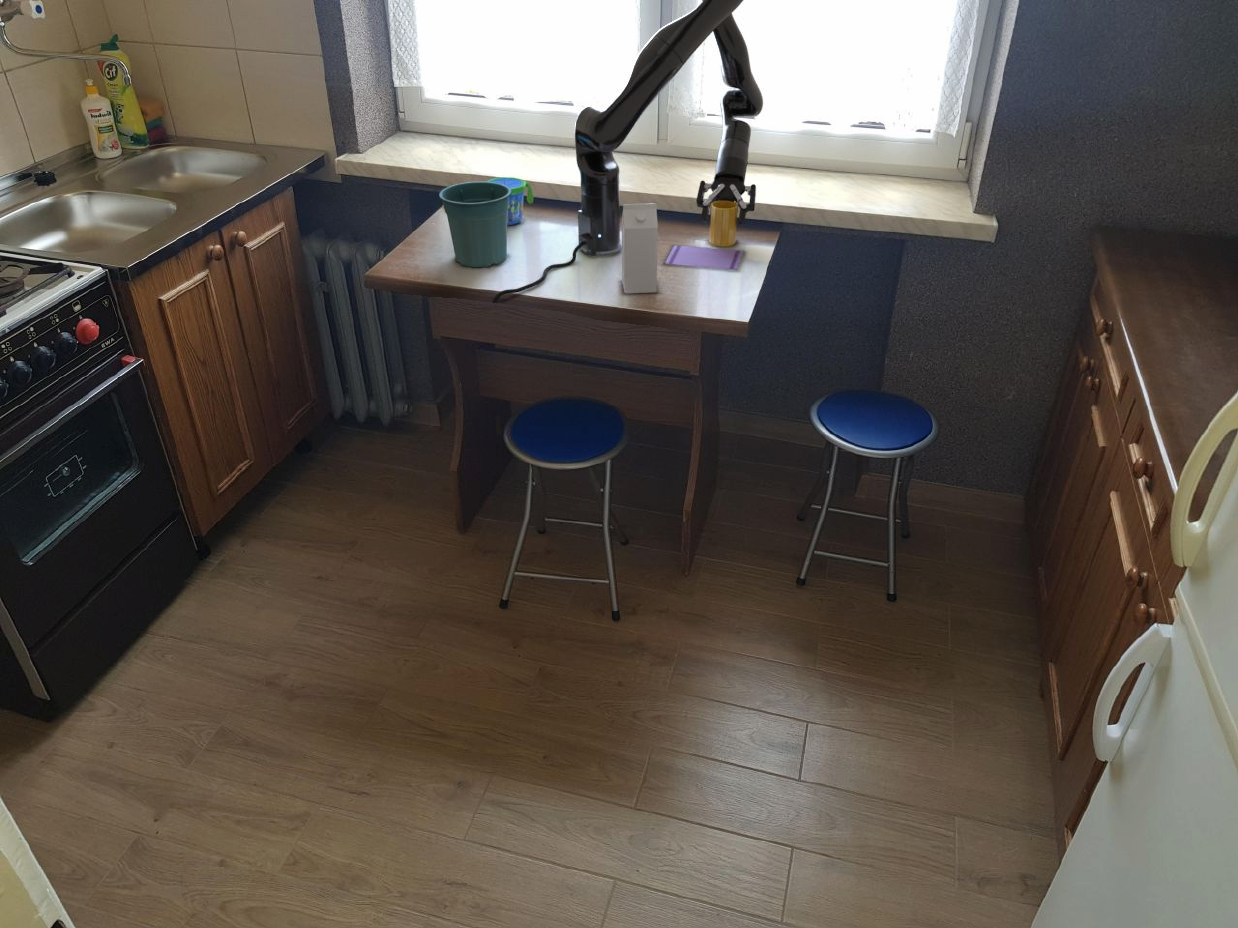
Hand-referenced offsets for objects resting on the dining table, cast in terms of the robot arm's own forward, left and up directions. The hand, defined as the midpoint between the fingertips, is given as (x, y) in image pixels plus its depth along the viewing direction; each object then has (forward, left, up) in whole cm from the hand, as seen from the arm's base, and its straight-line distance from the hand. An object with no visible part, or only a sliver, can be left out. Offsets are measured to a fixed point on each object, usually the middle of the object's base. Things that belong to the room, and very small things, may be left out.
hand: (722, 224), depth 233 cm
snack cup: (-37, +43, -5) cm, 57 cm away
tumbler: (+1, +1, -5) cm, 5 cm away
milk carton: (-32, -11, -5) cm, 34 cm away
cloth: (-9, -5, -5) cm, 12 cm away
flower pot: (-54, +24, -5) cm, 59 cm away
